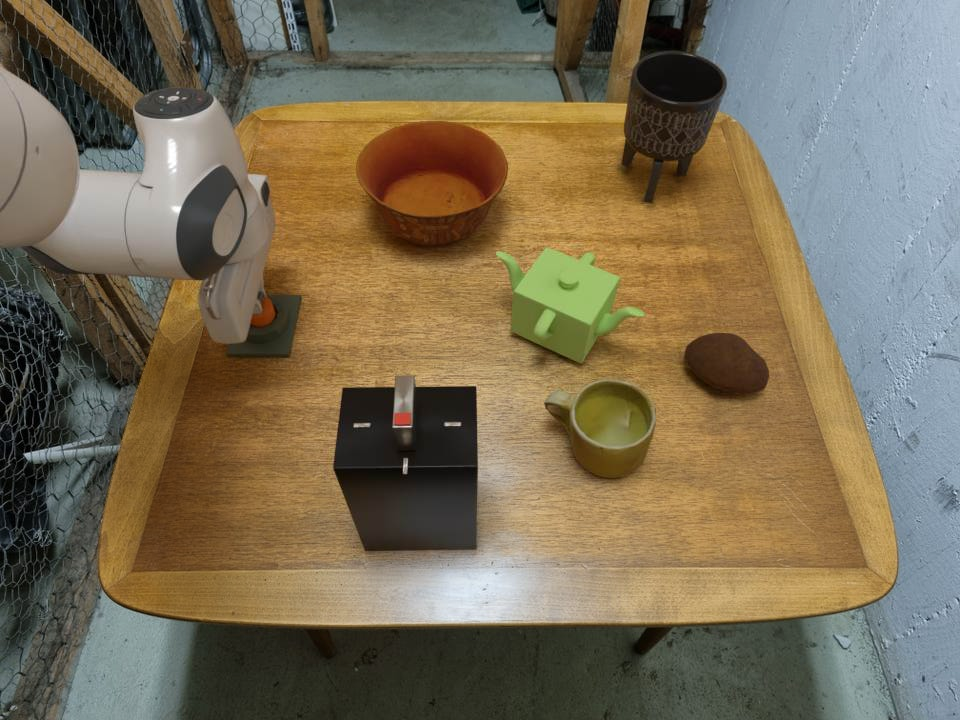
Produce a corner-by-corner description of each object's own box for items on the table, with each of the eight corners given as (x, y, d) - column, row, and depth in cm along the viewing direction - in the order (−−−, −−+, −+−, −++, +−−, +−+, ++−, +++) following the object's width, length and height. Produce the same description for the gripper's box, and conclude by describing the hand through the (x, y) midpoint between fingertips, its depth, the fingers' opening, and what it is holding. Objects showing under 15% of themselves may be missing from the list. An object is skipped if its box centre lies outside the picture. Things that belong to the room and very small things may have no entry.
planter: (671, 147, 112) (701, 44, 97) (707, 198, 105) (744, 96, 90) (599, 160, 110) (618, 57, 95) (630, 213, 102) (655, 111, 88)
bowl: (422, 154, 110) (418, 100, 102) (532, 206, 103) (537, 152, 95) (336, 227, 100) (324, 173, 92) (450, 290, 93) (448, 238, 85)
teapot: (492, 299, 92) (495, 244, 84) (582, 277, 95) (593, 220, 86) (533, 388, 84) (540, 337, 75) (630, 361, 87) (648, 308, 78)
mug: (677, 425, 79) (668, 392, 71) (634, 500, 77) (620, 476, 68) (587, 383, 85) (570, 348, 77) (545, 452, 83) (523, 424, 75)
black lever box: (364, 557, 72) (331, 474, 55) (370, 477, 77) (342, 380, 60) (476, 555, 72) (478, 472, 55) (475, 476, 77) (476, 379, 61)
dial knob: (399, 400, 59) (395, 373, 56) (417, 400, 59) (414, 373, 56) (396, 451, 56) (391, 426, 53) (415, 450, 57) (412, 425, 53)
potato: (755, 415, 82) (776, 383, 76) (671, 384, 85) (686, 352, 79) (766, 371, 86) (787, 339, 80) (686, 344, 88) (701, 310, 83)
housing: (289, 357, 86) (285, 345, 84) (227, 356, 86) (221, 345, 84) (301, 298, 92) (298, 285, 90) (243, 297, 92) (238, 285, 90)
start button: (273, 327, 87) (269, 317, 85) (245, 327, 87) (240, 317, 85) (278, 305, 89) (274, 295, 87) (250, 305, 89) (246, 295, 87)
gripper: (233, 297, 69) (267, 373, 80) (270, 166, 80) (295, 248, 92) (171, 297, 69) (214, 372, 80) (217, 166, 80) (249, 248, 92)
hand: (257, 305), depth 86 cm, fingers closed
